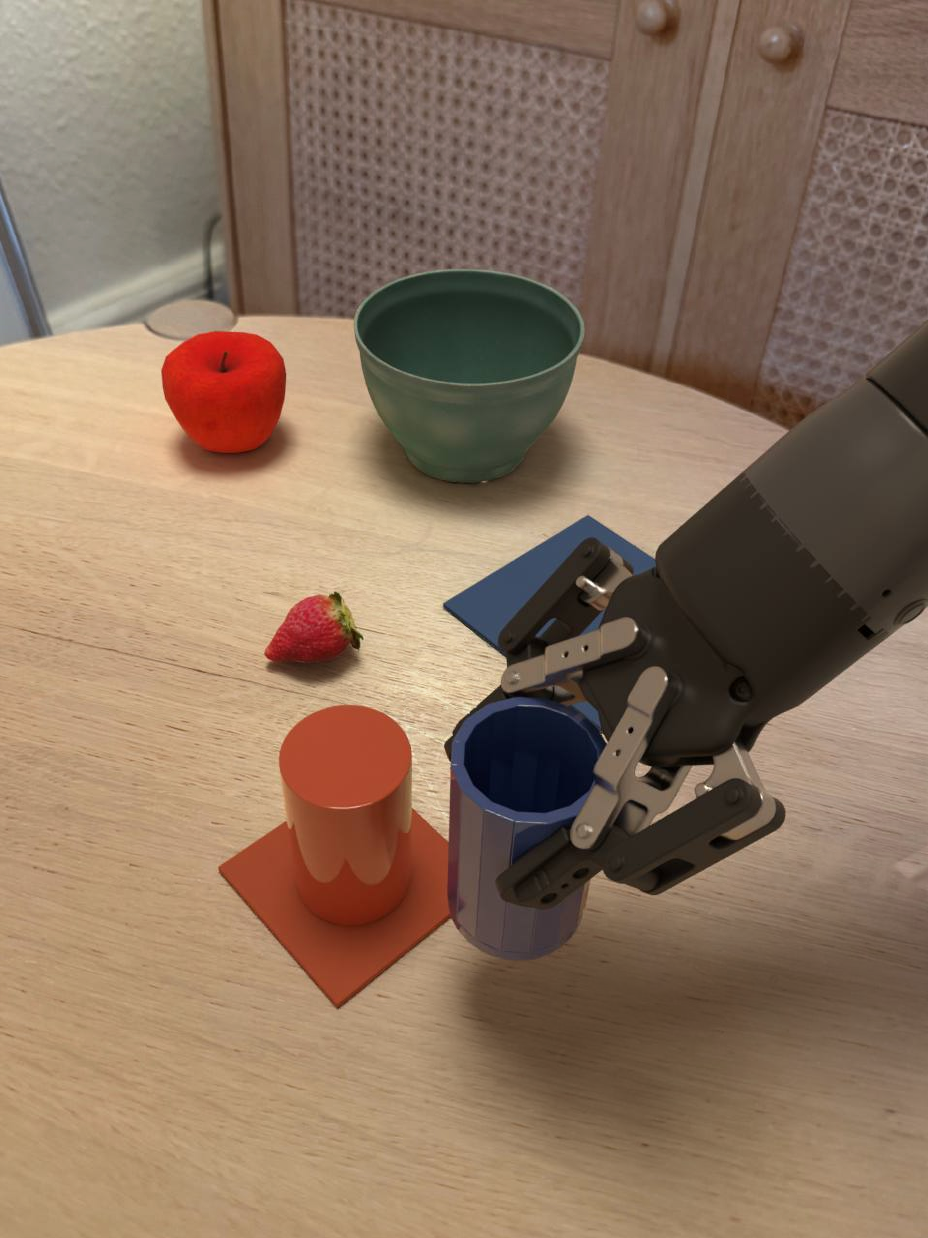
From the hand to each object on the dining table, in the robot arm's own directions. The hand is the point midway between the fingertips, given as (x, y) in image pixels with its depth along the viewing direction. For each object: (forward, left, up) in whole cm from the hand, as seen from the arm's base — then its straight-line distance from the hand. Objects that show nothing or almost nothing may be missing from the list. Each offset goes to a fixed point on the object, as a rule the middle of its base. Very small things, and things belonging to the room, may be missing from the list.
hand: (485, 824), depth 43 cm
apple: (+44, -16, -14) cm, 49 cm away
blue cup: (-1, -2, -6) cm, 7 cm away
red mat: (+8, +1, -13) cm, 16 cm away
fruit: (+22, -7, -14) cm, 27 cm away
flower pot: (+32, -29, -14) cm, 46 cm away
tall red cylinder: (+8, +1, -13) cm, 16 cm away
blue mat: (+13, -23, -14) cm, 30 cm away
